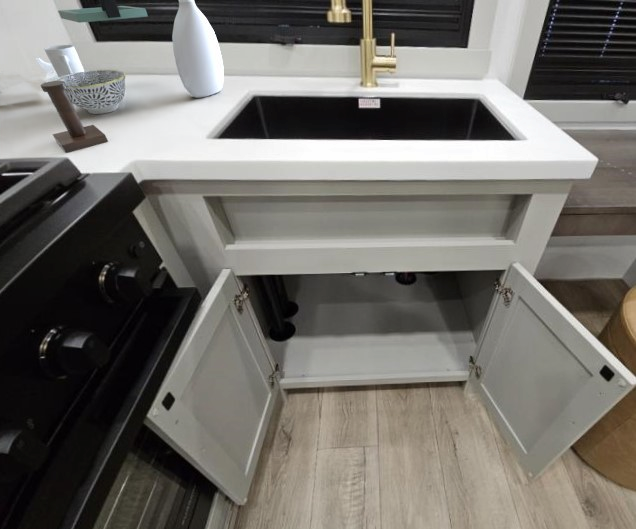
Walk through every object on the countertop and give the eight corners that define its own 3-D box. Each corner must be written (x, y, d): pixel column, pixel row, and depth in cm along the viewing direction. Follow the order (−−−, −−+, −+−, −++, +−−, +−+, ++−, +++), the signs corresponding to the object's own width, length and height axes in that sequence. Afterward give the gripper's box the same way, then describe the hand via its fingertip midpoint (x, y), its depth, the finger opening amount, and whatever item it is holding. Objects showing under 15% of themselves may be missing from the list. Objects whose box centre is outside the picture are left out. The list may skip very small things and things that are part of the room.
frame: (61, 18, 83) (57, 10, 82) (124, 13, 91) (122, 5, 90) (79, 22, 74) (75, 13, 73) (147, 16, 82) (145, 8, 81)
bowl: (103, 123, 76) (88, 88, 71) (53, 117, 80) (34, 83, 75) (149, 103, 87) (138, 71, 82) (103, 98, 91) (90, 67, 86)
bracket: (56, 83, 108) (36, 58, 102) (76, 74, 109) (58, 49, 104) (54, 92, 100) (32, 66, 94) (76, 83, 101) (55, 56, 95)
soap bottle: (215, 85, 99) (190, -34, 81) (233, 89, 96) (212, -34, 78) (175, 97, 91) (138, -33, 73) (194, 102, 87) (160, -34, 69)
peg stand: (56, 141, 69) (23, 83, 61) (96, 131, 73) (70, 76, 65) (65, 152, 64) (32, 92, 57) (108, 141, 68) (81, 83, 61)
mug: (68, 96, 93) (43, 46, 85) (94, 92, 96) (72, 43, 88) (70, 105, 87) (44, 52, 79) (98, 100, 90) (75, 49, 82)
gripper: (92, -140, 60) (140, 18, 76) (70, -127, 68) (118, 13, 84) (46, -147, 57) (107, 21, 73) (28, -132, 65) (86, 16, 80)
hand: (112, 16), depth 78 cm, fingers closed on frame, 2 cm apart
